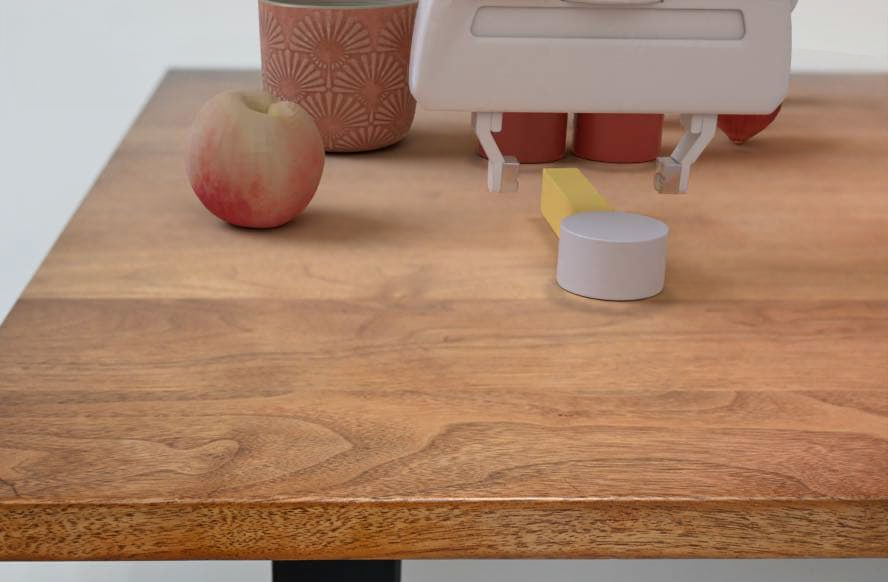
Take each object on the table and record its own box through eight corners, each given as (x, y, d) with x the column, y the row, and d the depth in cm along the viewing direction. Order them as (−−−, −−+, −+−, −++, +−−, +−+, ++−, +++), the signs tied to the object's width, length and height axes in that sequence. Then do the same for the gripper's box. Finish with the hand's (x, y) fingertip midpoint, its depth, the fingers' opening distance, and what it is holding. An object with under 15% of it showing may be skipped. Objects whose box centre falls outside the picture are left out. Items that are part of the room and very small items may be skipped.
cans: (647, 142, 98) (661, -7, 94) (670, 162, 92) (687, 4, 88) (471, 143, 97) (477, -7, 93) (483, 163, 91) (490, 4, 87)
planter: (244, 130, 101) (240, -10, 97) (388, 121, 105) (391, -15, 101) (285, 165, 90) (282, 9, 86) (444, 154, 94) (449, 3, 90)
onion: (708, 132, 102) (719, 31, 98) (781, 139, 99) (796, 35, 96) (692, 146, 97) (704, 40, 94) (770, 154, 94) (784, 46, 91)
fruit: (257, 250, 72) (254, 110, 69) (164, 223, 77) (156, 92, 74) (348, 220, 77) (349, 90, 74) (255, 197, 82) (253, 74, 79)
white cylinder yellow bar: (676, 300, 64) (683, 240, 63) (568, 301, 64) (572, 241, 63) (601, 210, 80) (605, 161, 79) (513, 211, 80) (516, 162, 78)
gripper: (786, -71, 68) (750, 178, 73) (410, -77, 67) (401, 176, 72) (832, -63, 62) (790, 207, 68) (421, -70, 61) (411, 205, 67)
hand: (586, 191), depth 70 cm, fingers open, 8 cm apart
